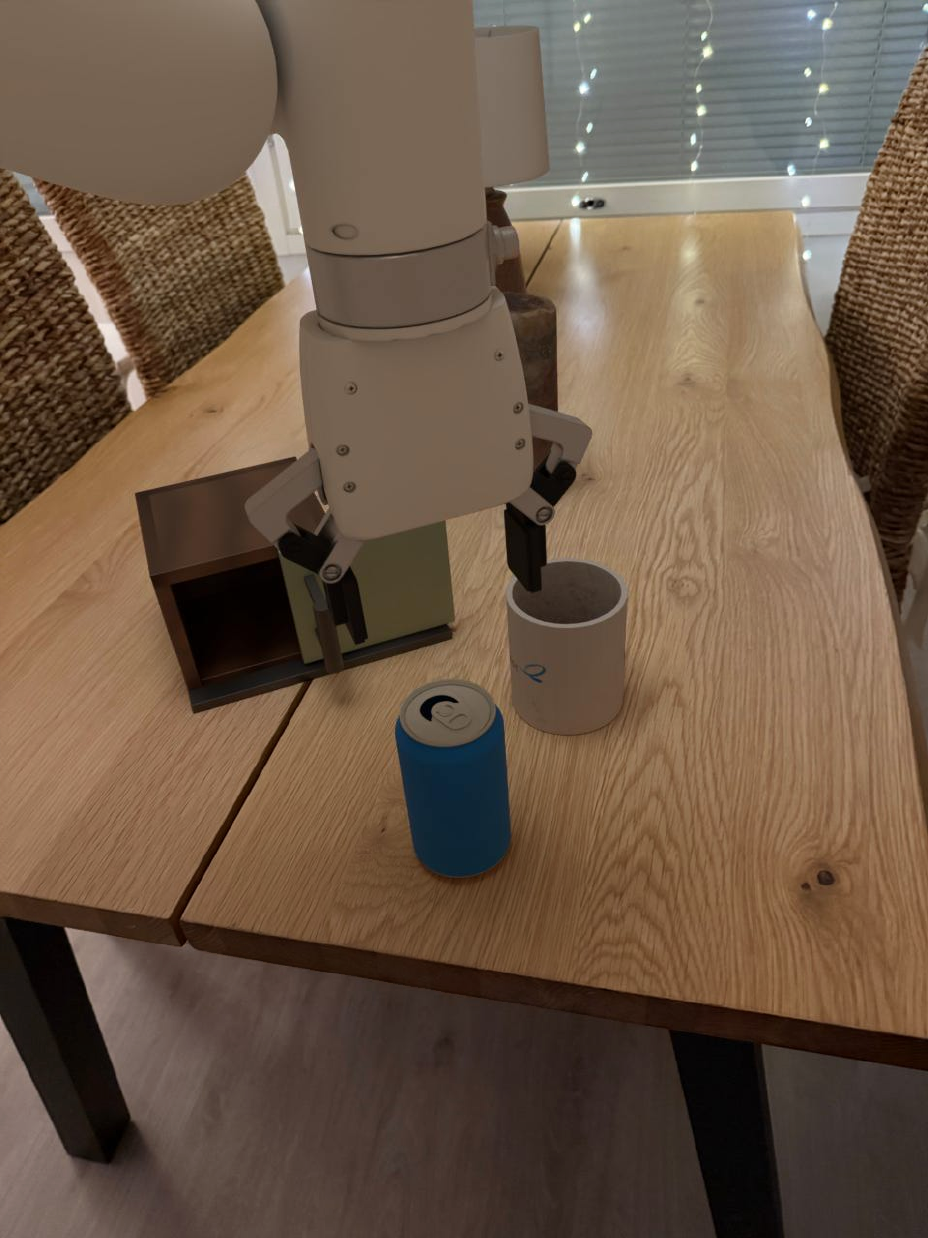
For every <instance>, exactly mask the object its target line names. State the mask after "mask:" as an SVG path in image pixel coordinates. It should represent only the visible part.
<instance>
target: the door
mask: <svg viewBox="0 0 928 1238" xmlns="http://www.w3.org/2000/svg"><path fill="white" fill-rule="evenodd" d="M447 534H448V532H447V520H445V521H441V522H438V523H434V524H430V525H426V526H423V527H419V528H415V529H411V530H407V531H403V532H400V533H396V534H392V535H388V536H383V537H379V538H374V539H367V540H365V542H364V544H363V545H362V547H361V548H360V550H359V552H358V553H357V555H356V557H355V558H354V560H353V561H352V563H351V565H350V567H351V569H352V571H353V573H354V575H355V577H356V579H357V582H358V586H359V591H360V597H361V602H362V608H363V613H364V618H365V624H366V629H367V634H368V639H365V643H361V644H358V645H355V644H354V642H353V640H352V637H351V635H350V633H349V631H348V629H347V627H346V624H342V625H338V626H334V624H333V622H332V619H331V617H330V614H329V610H328V606H327V602H326V597H325V593H324V588H323V583H322V579H321V577H320V575H318V574H316V573H314V572H312V571H310V570H308V569H306V568H304V567H302V566H300V565H298V564H296V563H294V562H292V561H289V560H287V559H286V558H284V557H283V556H282V554H281V552H280V551H279V550H278V549H277V550H278V554H279V558H280V563H281V567H282V571H283V576H284V580H285V585H286V589H287V593H288V598H289V602H290V606H291V611H292V615H293V619H294V624H295V628H296V633H297V637H298V641H299V646H300V650H301V654H302V658H303V661H304V663H305V664H307V663H310V662H314V661H317V660H321V659H324V663H325V668H326V671H327V672H329V673H330V674H337V673H340V672H342V671H343V670H342V669H343V667H344V664H343V659H342V653H345V652H349V651H352V650H356V649H359V648H363V647H366V646H370V645H373V644H377V643H380V642H384V641H387V640H391V639H394V638H398V637H401V636H405V635H408V634H412V633H415V632H419V631H422V630H426V629H429V628H433V627H437V626H440V625H444V624H450V623H453V622H456V616H455V604H454V603H455V602H454V594H453V583H452V574H451V573H452V572H451V563H450V554H449V543H448V535H447Z"/></svg>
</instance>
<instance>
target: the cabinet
mask: <svg viewBox="0 0 928 1238" xmlns="http://www.w3.org/2000/svg"><path fill="white" fill-rule="evenodd" d="M296 460H298V458H297V456H296V455H295V456H290V457H286V458H281V459H278V460H272V461H268V462H264V463H260V464H255V465H251V466H246V467H243V468H238V469H233V470H230V471H224V472H220V473H216V474H212V475H207V476H201V477H199V478H194V479H190V480H184V481H180V482H177V483H173V484H167V485H163V486H158V487H154V488H150V489H146V490H141V491H137V492H134V498H135V504H136V509H137V515H138V521H139V527H140V530H141V536H142V542H143V546H144V553H145V559H146V564H147V570H148V576H149V578H150V583H151V585H152V587H153V591H154V594H155V596H156V600H157V602H158V606H159V609H160V611H161V615H162V618H163V621H164V623H165V626H166V630H167V633H168V635H169V639H170V642H171V644H172V647H173V650H174V653H175V656H176V660H177V663H178V665H179V668H180V671H181V674H182V678H183V681H184V684H185V687H186V690H187V693H188V698H189V702H190V703H189V704H190V707H191V710H192V713H193V714H196V713H199V712H202V711H206V710H209V709H212V708H217V707H219V706H223V705H227V704H230V703H233V702H237V701H240V700H244V699H247V698H250V697H254V696H258V695H261V694H264V693H265V694H266V693H268V692H272V691H275V690H279V689H282V688H285V687H289V686H293V685H297V684H300V683H303V682H306V681H309V680H313V679H317V678H320V677H323V676H326V675H330V674H331V673H329V672H327V671H326V668H325V663H324V659H321V660H317V661H314V662H310V663H307V664H305V663H304V661H303V658H302V654H301V650H300V646H299V641H298V637H297V633H296V628H295V624H294V619H293V615H292V611H291V606H290V602H289V598H288V593H287V589H286V585H285V580H284V576H283V571H282V567H281V563H280V558H279V554H278V550H277V548H276V547H275V546H274V545H273V544H271V543H270V542H269V541H268V540H267V539H266V538H265V537H264V536H263V535H262V534H261V533H260V532H259V531H258V530H257V529H256V528H255V527H254V526H253V525H252V524H251V522H250V521H249V518H248V516H247V513H246V510H245V503H246V501H247V500H248V499H249V498H250V497H251V496H253V495H254V494H255V493H256V492H258V491H259V490H260V489H261V488H263V487H264V486H265V485H266V484H268V483H269V482H270V481H271V480H273V479H274V478H275V477H276V476H278V475H279V474H280V473H281V472H283V471H284V470H285V469H286V468H288V467H289V466H290V465H291V464H293V463H294V462H295V461H296ZM315 492H316V491H315ZM315 492H314V493H313V494H311V495H310V496H309V497H308V498H306V499H305V500H304V501H303V502H301V503H300V504H299V505H298V506H296V507H295V508H294V509H293V510H291V511H290V512H289V513H288V515H287V518H288V519H289V520H290V522H291V523H294V524H296V525H298V526H299V527H301V528H303V529H305V530H307V531H309V532H311V533H313V534H314V532H315V530H316V529H317V527H318V525H319V524H320V522H321V520H322V519H323V517H324V515H325V514H326V512H325V510H324V508H323V506H322V503H321V501H320V499H319V497H318V496H317V494H316V493H315ZM452 639H453V631H452V629H451V627H450V626H449V623H447V624H444V625H440V626H437V627H433V628H429V629H426V630H422V631H419V632H415V633H412V634H408V635H405V636H401V637H398V638H394V639H391V640H387V641H384V642H380V643H377V644H373V645H370V646H366V647H363V648H359V649H356V650H352V651H349V652H345V653H342V659H343V664H344V667H343V669H342V670H341V671H345V670H348V669H352V668H354V667H358V666H361V665H365V664H368V663H371V662H375V661H379V660H382V659H386V658H389V657H393V656H396V655H399V654H403V653H407V652H410V651H413V650H416V649H420V648H423V647H427V646H431V645H434V644H438V643H442V642H444V641H449V640H452Z"/></svg>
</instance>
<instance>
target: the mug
mask: <svg viewBox="0 0 928 1238" xmlns="http://www.w3.org/2000/svg"><path fill="white" fill-rule="evenodd" d="M541 579H542V590H541V591H538V592H535V593H531V592H530V591H529V592H527V591H526V589H525V588H524V587H523V586H522V584H521V583H520V582H519V581H518V579H517V578H516V577H515V575H513V577H511V579H510V580H509V583H508V584H507V587H506V591H505V597H506V598H505V599H506V617H507V632H508V650H509V651H508V652H509V668H510V669H509V671H510V688H511V701H512V702H511V703H512V707H513V708H514V711H515V712H516V714H517V716H518V717H519V718H520V719H521V720H522V721H524V722H525V723H526V724H528V725H529V726H531V727H532V728H534V729H537V730H539V731H542V732H544V733H547V734H548V733H549V734H553V735H561V736H575V735H583V734H588V733H592V732H594V731H597V730H600V729H602V728H603V727H605V726H607V725H608V724H610V723H611V722H612V721H613V720H615V719H616V718H617V716H618V714H620V712H621V709H622V707H623V704H624V688H625V667H626V666H625V664H626V663H625V662H626V642H627V641H626V640H627V639H626V638H627V617H628V616H627V615H628V614H627V613H628V593H629V592H628V591H629V590H628V587H627V583H626V582H625V580H624V579H623V577H622V576H621V575H620V574H619V573H618V572H617V571H616V570H614V569H612V568H611V567H609V566H607V565H604V564H602V563H600V562H598V561H595V560H594V561H593V560H590V559H583V558H578V557H577V558H576V557H574V558H573V557H562V558H552V559H547V564H546V566H544V567H541Z"/></svg>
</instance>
